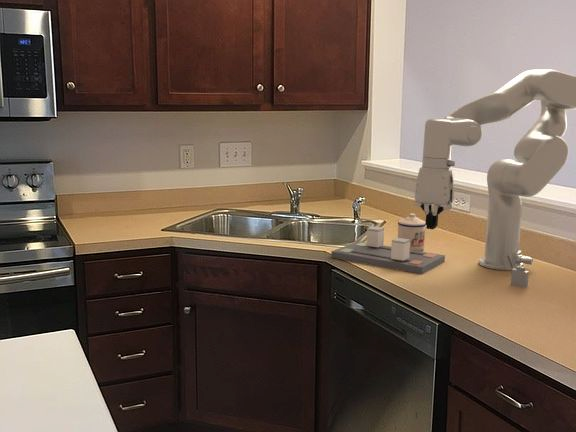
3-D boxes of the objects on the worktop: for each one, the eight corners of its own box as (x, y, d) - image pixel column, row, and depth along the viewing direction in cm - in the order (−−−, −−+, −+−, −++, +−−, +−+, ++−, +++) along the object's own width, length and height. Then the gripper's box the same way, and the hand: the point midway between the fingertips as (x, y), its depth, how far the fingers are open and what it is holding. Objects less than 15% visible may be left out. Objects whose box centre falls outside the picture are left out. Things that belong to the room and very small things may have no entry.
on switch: (383, 245, 209) (384, 228, 208) (377, 247, 206) (378, 230, 204) (372, 243, 211) (372, 226, 210) (366, 245, 208) (366, 228, 207)
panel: (444, 261, 199) (445, 254, 199) (422, 274, 186) (422, 266, 185) (357, 247, 216) (357, 240, 216) (331, 257, 202) (331, 250, 202)
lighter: (527, 286, 175) (530, 257, 174) (525, 288, 174) (527, 259, 172) (502, 281, 180) (504, 253, 178) (499, 282, 178) (501, 254, 177)
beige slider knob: (409, 258, 193) (410, 239, 192) (403, 260, 190) (404, 242, 189) (396, 255, 195) (397, 237, 194) (390, 258, 192) (391, 240, 191)
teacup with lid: (414, 253, 209) (415, 217, 207) (390, 248, 215) (392, 213, 213) (435, 247, 217) (437, 213, 215) (412, 242, 223) (413, 209, 221)
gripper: (466, 165, 181) (461, 230, 184) (416, 160, 189) (412, 223, 192) (457, 167, 175) (451, 234, 178) (405, 162, 183) (401, 226, 186)
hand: (431, 228), depth 185 cm, fingers closed
